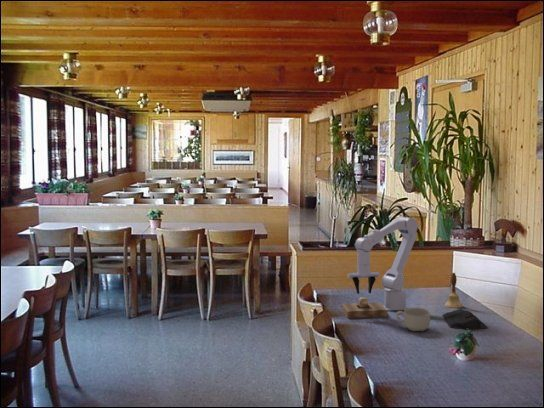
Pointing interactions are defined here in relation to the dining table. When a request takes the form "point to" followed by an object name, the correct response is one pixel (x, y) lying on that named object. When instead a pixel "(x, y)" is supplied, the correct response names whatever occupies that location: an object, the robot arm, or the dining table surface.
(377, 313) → the board
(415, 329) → the teacup
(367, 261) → the robot arm
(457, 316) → the dark slate chunk
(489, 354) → the dining table surface
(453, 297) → the hand bell
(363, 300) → the peg
